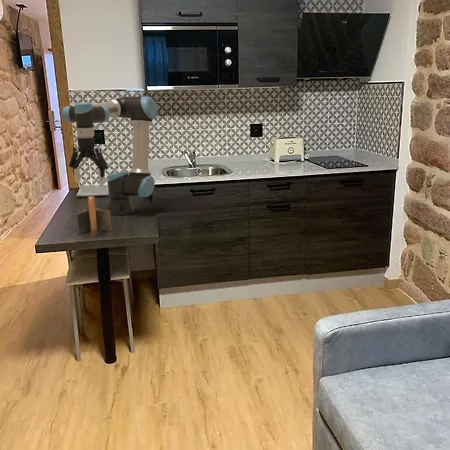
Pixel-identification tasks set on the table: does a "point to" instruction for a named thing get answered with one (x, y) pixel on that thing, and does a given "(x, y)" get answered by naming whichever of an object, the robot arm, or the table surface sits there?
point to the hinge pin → (92, 215)
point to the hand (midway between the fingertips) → (89, 183)
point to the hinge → (101, 218)
